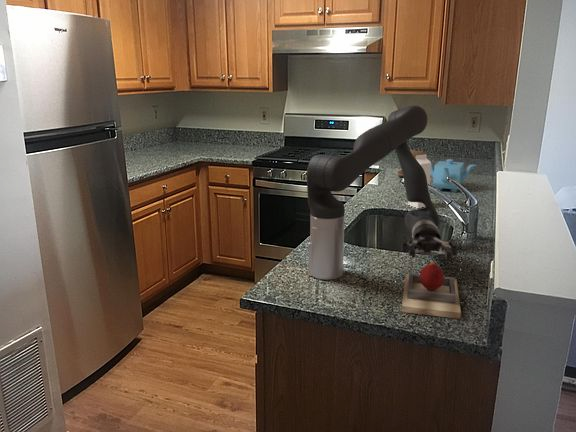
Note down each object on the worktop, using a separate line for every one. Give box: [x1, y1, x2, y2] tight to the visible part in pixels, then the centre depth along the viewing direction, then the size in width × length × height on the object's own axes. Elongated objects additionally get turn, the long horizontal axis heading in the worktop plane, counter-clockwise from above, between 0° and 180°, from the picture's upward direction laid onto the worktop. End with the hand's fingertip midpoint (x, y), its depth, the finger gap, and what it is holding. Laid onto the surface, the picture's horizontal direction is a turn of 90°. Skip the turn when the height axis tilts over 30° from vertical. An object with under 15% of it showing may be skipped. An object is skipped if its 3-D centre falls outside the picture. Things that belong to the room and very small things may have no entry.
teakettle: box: [430, 158, 477, 193], centre depth 232 cm, size 19×19×15 cm
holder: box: [401, 273, 462, 320], centre depth 119 cm, size 13×20×4 cm, turn 164°
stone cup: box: [397, 149, 426, 178], centre depth 263 cm, size 15×12×15 cm
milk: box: [407, 153, 432, 209], centre depth 201 cm, size 6×6×22 cm
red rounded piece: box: [419, 260, 445, 291], centre depth 118 cm, size 6×6×8 cm
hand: (430, 255), depth 122 cm, fingers open, 8 cm apart
